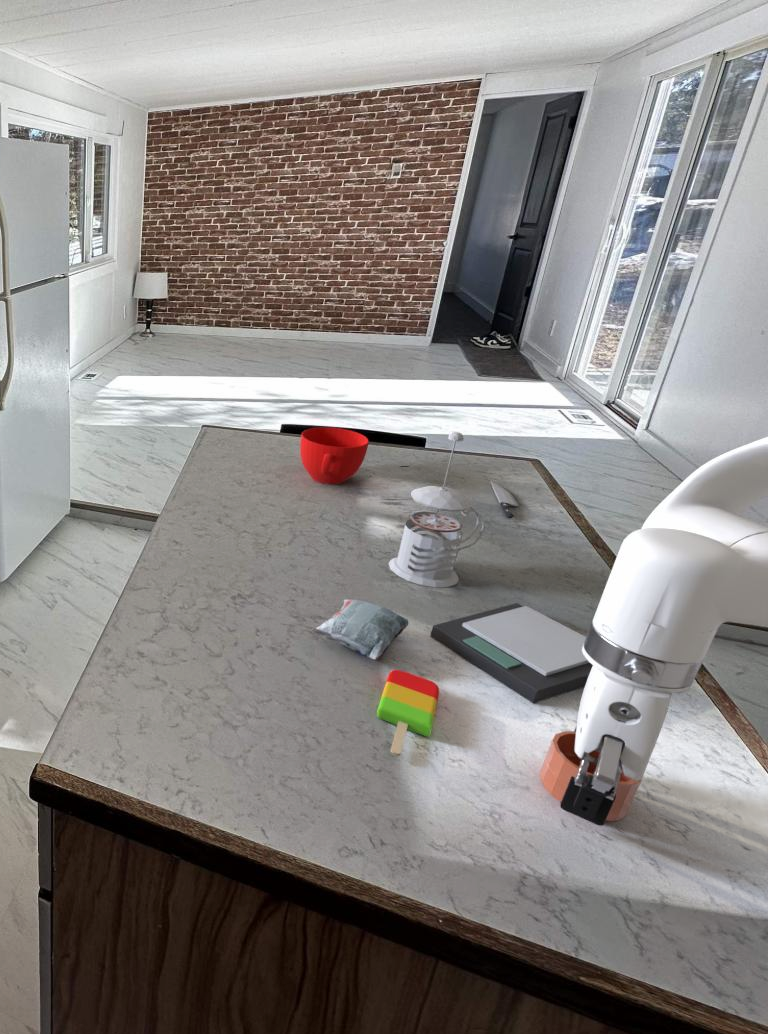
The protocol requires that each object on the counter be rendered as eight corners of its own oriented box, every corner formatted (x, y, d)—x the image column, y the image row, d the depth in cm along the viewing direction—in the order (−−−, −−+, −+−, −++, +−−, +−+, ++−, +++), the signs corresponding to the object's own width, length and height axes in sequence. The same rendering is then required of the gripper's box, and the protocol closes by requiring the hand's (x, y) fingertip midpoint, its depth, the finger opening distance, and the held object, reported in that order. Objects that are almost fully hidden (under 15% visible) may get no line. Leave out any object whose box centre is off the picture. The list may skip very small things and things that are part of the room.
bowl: (568, 762, 72) (583, 724, 70) (642, 813, 66) (660, 773, 63) (522, 778, 70) (536, 740, 68) (594, 832, 64) (611, 792, 62)
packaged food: (309, 643, 92) (315, 615, 90) (344, 609, 99) (350, 582, 97) (375, 674, 86) (382, 644, 84) (407, 636, 93) (415, 608, 91)
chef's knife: (507, 485, 136) (489, 482, 137) (508, 480, 135) (491, 477, 137) (525, 523, 120) (505, 519, 122) (527, 518, 120) (507, 514, 121)
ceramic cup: (287, 490, 139) (293, 447, 135) (300, 463, 152) (306, 423, 148) (355, 502, 132) (363, 458, 128) (363, 473, 145) (371, 432, 141)
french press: (379, 554, 113) (408, 421, 104) (453, 558, 111) (489, 422, 102) (402, 585, 104) (436, 442, 95) (483, 590, 102) (526, 444, 93)
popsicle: (438, 694, 82) (441, 682, 81) (422, 771, 72) (425, 758, 71) (388, 676, 85) (391, 665, 85) (366, 747, 75) (368, 735, 74)
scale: (513, 613, 96) (517, 599, 95) (624, 674, 84) (631, 658, 83) (429, 636, 92) (433, 621, 91) (533, 703, 80) (539, 687, 79)
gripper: (703, 725, 53) (632, 867, 59) (692, 626, 64) (634, 755, 70) (580, 683, 58) (527, 819, 64) (590, 598, 69) (545, 721, 75)
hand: (583, 785), depth 67 cm, fingers open, 9 cm apart
